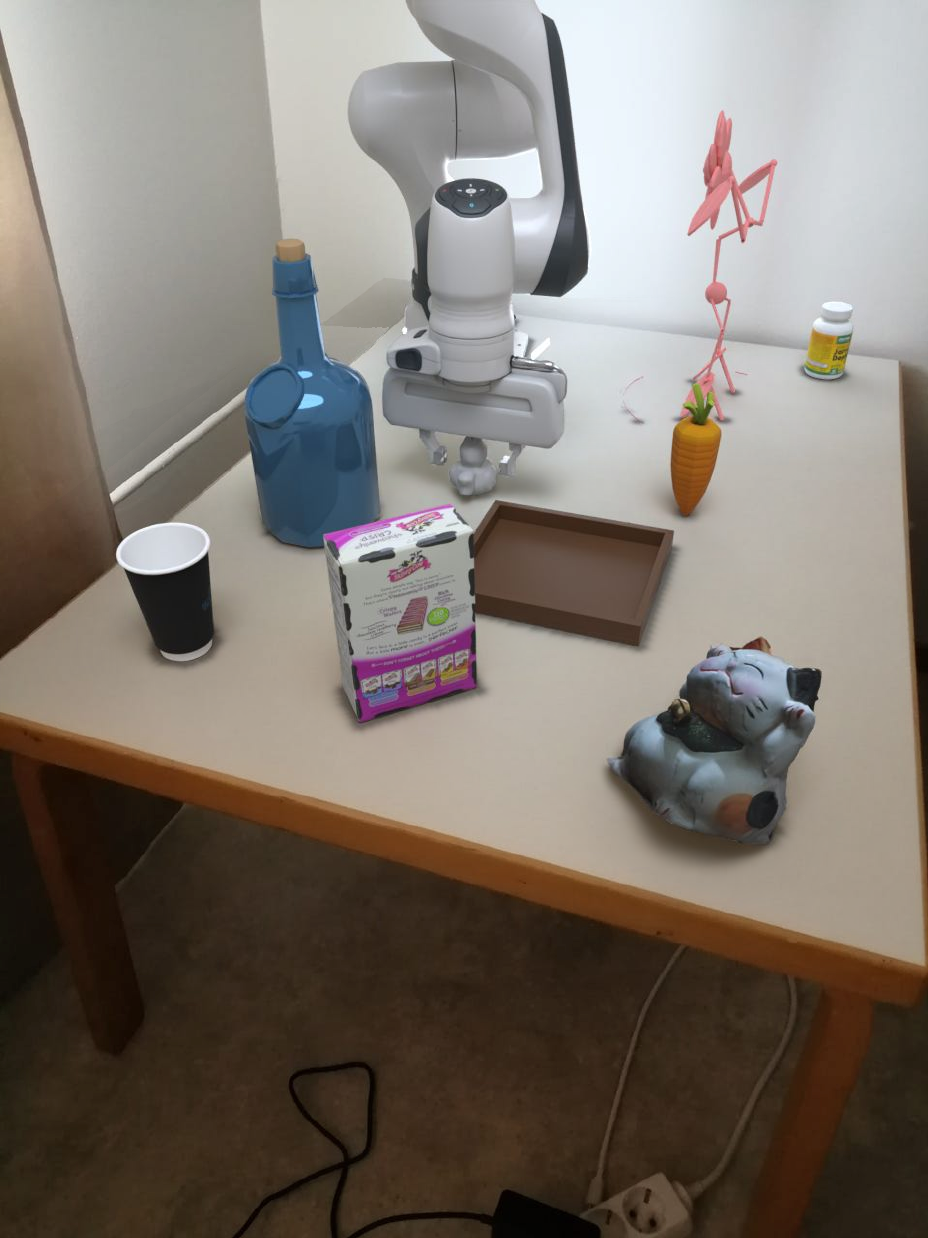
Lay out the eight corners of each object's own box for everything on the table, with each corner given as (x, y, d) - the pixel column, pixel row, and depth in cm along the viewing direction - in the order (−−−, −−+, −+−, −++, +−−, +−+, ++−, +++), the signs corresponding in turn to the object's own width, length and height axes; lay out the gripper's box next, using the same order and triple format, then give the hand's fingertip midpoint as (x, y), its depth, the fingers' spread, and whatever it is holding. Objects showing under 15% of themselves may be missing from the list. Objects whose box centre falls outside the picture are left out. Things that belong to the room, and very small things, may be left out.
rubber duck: (503, 483, 114) (504, 420, 109) (486, 511, 109) (486, 446, 104) (459, 476, 116) (458, 414, 111) (440, 503, 111) (438, 439, 106)
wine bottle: (317, 478, 115) (287, 214, 97) (405, 511, 109) (390, 235, 91) (233, 529, 107) (182, 249, 88) (324, 568, 100) (289, 275, 82)
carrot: (707, 529, 106) (729, 400, 97) (661, 524, 106) (678, 396, 97) (708, 505, 110) (728, 380, 100) (663, 501, 110) (679, 376, 101)
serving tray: (495, 518, 108) (495, 499, 106) (671, 549, 103) (674, 530, 101) (439, 605, 95) (439, 585, 94) (638, 646, 90) (640, 626, 88)
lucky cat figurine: (588, 742, 80) (656, 588, 76) (713, 776, 83) (784, 629, 79) (653, 844, 66) (740, 662, 62) (800, 879, 69) (891, 708, 65)
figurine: (749, 370, 139) (798, 96, 118) (718, 449, 120) (770, 139, 99) (644, 355, 144) (672, 89, 123) (598, 429, 125) (622, 129, 103)
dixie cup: (127, 644, 91) (98, 545, 84) (201, 608, 95) (180, 512, 88) (170, 684, 86) (144, 583, 80) (246, 645, 90) (227, 546, 84)
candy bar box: (456, 656, 89) (452, 500, 79) (478, 689, 85) (478, 529, 75) (339, 689, 85) (320, 530, 75) (357, 725, 82) (340, 563, 72)
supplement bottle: (815, 362, 141) (830, 296, 135) (849, 372, 138) (866, 305, 132) (796, 372, 138) (809, 306, 132) (830, 383, 135) (846, 315, 129)
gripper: (576, 351, 101) (568, 469, 110) (395, 329, 107) (401, 443, 115) (560, 374, 97) (553, 496, 105) (371, 350, 102) (380, 467, 111)
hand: (472, 468), depth 110 cm, fingers open, 7 cm apart
